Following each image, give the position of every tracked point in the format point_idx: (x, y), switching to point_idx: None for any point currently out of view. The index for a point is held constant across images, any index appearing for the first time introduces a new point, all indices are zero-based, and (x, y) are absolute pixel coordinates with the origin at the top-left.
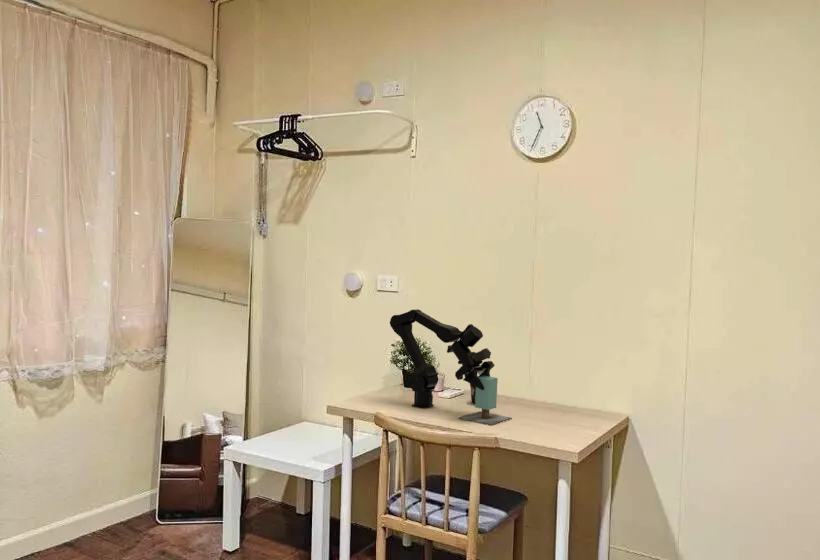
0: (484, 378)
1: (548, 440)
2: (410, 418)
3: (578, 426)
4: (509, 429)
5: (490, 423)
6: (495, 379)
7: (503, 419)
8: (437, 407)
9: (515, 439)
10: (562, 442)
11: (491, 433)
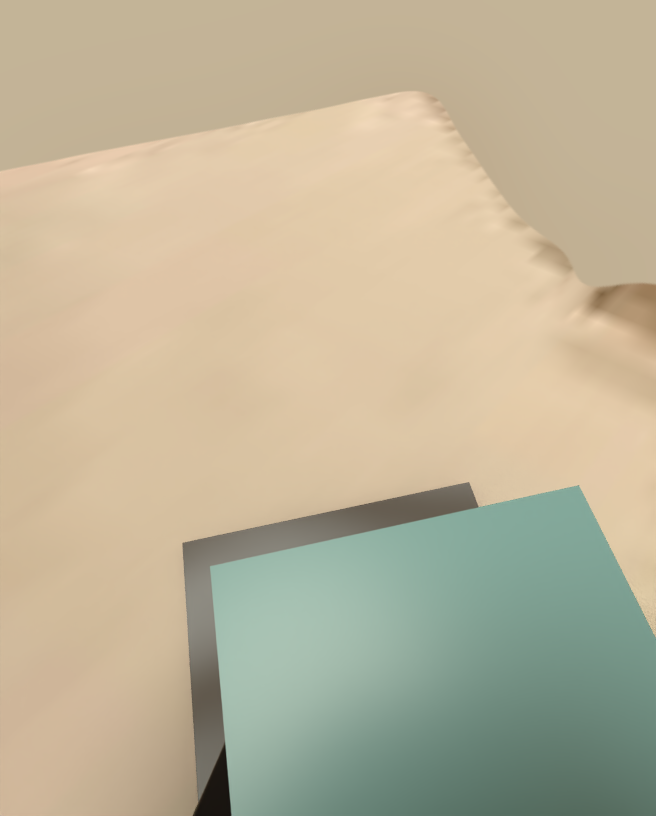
0: (631, 669)
1: (391, 183)
2: None
3: (35, 246)
4: (418, 369)
5: (467, 493)
6: (308, 552)
7: (288, 534)
8: None
9: (521, 245)
10: (362, 150)
11: (576, 360)
